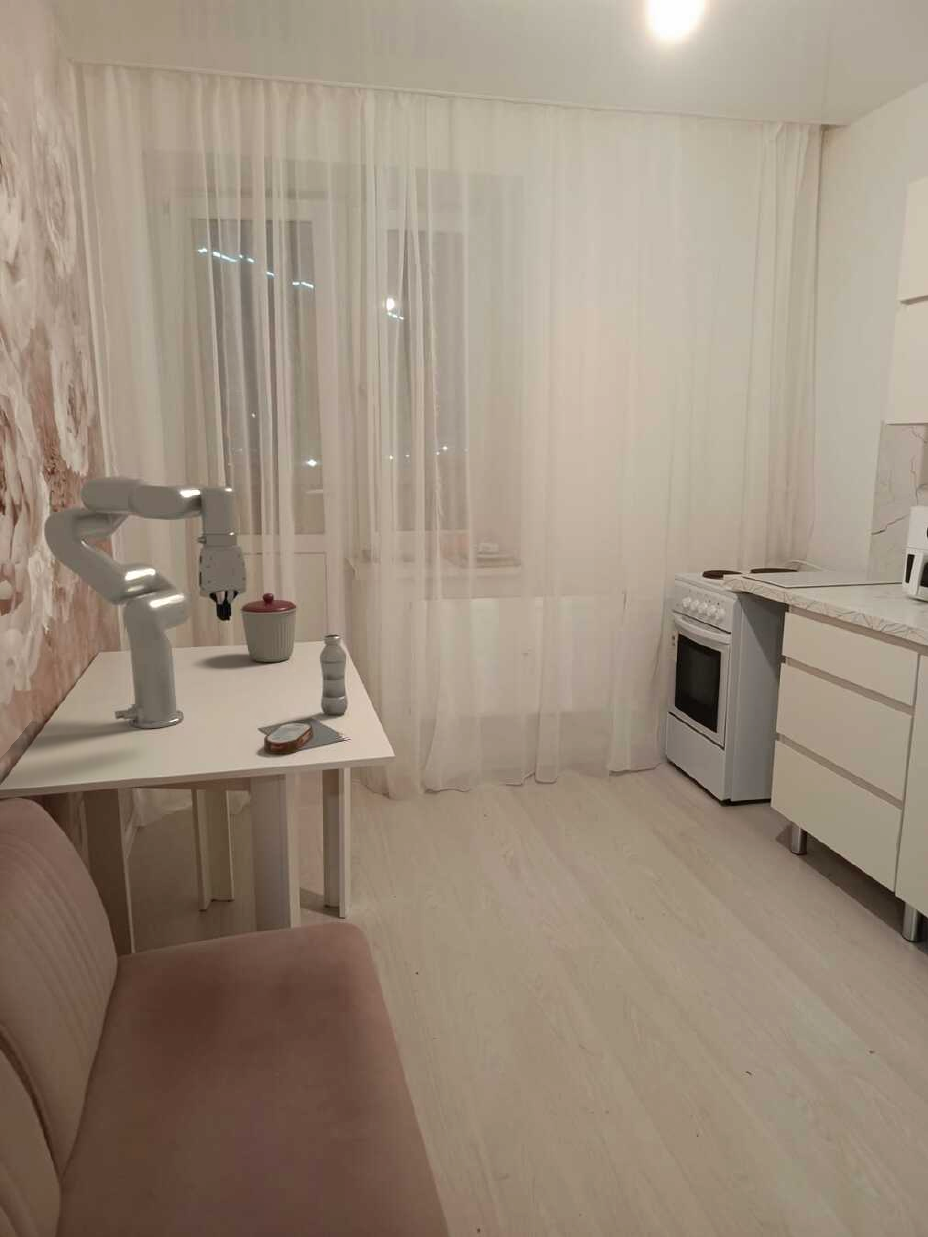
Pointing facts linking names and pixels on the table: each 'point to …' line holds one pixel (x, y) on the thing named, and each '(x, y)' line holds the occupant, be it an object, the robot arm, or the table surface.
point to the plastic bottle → (333, 676)
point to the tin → (288, 738)
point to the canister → (269, 628)
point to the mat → (320, 733)
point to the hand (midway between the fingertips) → (224, 619)
